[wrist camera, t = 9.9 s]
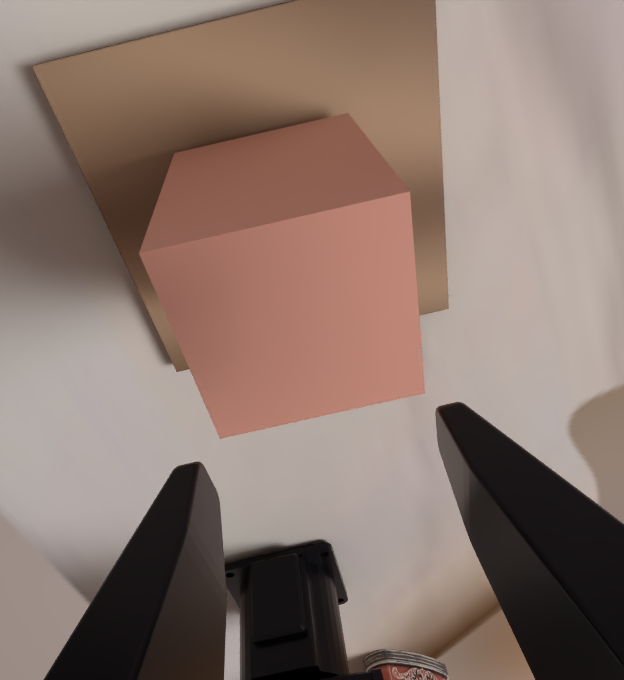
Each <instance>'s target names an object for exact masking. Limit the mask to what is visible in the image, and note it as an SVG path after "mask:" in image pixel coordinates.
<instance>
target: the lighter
mask: <svg viewBox="0 0 624 680" xmlns="http://www.w3.org/2000/svg"><path fill="white" fill-rule="evenodd" d="M364 663H365V669H366V672H369V671H370V669H376V668H380V669H381V672H382V675H383V679H384V680H448V677H449V676H448V673H447V669H446V666H445V664H444V663H442V662H440V661H437V660H436V659H433V658H430V657H427V656H424V655H421V654H417V653H412V652H407V651H399V650H390V649H383V650H378V651H375V652H373V653H371V654H369V655H367V656H366V657H365V659H364Z"/></svg>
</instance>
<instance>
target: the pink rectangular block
mask: <svg viewBox="0 0 624 680" xmlns="http://www.w3.org/2000/svg"><path fill="white" fill-rule="evenodd" d="M139 255H140V257H141V259H142V262H143V264H144V266H145V268H146V271H147V273H148V275H149V278H150V280H151V282H152V284H153V287H154V289H155V291H156V294H157V296H158V298H159V300H160V303H161V305H162V307H163V309H164V312H165V314H166V316H167V319H168V321H169V323H170V325H171V328H172V330H173V332H174V335H175V337H176V339H177V341H178V344H179V346H180V348H181V351H182V353H183V355H184V357H185V360H186V362H187V364H188V367H189V369H190V371H191V373H192V376H193V378H194V380H195V383H196V385H197V387H198V389H199V392H200V394H201V396H202V398H203V401H204V403H205V405H206V408H207V410H208V412H209V414H210V417H211V419H212V421H213V424H214V426H215V428H216V430H217V433H218V435H219V437H220V438H225V437H229V436H234V435H238V434H243V433H247V432H252V431H256V430H261V429H265V428H270V427H274V426H279V425H283V424H288V423H292V422H297V421H301V420H306V419H310V418H315V417H319V416H324V415H328V414H333V413H337V412H342V411H346V410H351V409H355V408H360V407H364V406H369V405H373V404H378V403H382V402H387V401H391V400H396V399H400V398H405V397H409V396H414V395H418V394H423V393H425V387H424V373H423V360H422V347H421V333H420V320H419V306H418V293H417V279H416V266H415V252H414V239H413V226H412V212H411V199H410V191H409V190H408V188H407V187H406V186H405V185H404V183H403V182H402V181H401V179H400V178H399V177H398V176H397V174H396V173H395V172H394V171H393V169H392V168H391V167H390V166H389V164H388V163H387V162H386V160H385V159H384V158H383V157H382V155H381V154H380V153H379V152H378V150H377V149H376V148H375V146H374V145H373V144H372V143H371V141H370V140H369V139H368V138H367V136H366V135H365V134H364V133H363V131H362V130H361V129H360V127H359V126H358V125H357V124H356V122H355V121H354V120H353V119H352V117H351V116H350V115H349V113H346V114H341V115H337V116H333V117H328V118H324V119H320V120H315V121H311V122H307V123H302V124H298V125H294V126H289V127H285V128H281V129H276V130H272V131H268V132H263V133H259V134H255V135H250V136H246V137H242V138H238V139H233V140H229V141H225V142H220V143H216V144H212V145H207V146H203V147H199V148H194V149H190V150H186V151H181V152H177V153H174V155H173V158H172V161H171V164H170V167H169V170H168V172H167V175H166V178H165V181H164V184H163V187H162V189H161V192H160V195H159V198H158V201H157V204H156V206H155V209H154V212H153V215H152V218H151V221H150V223H149V226H148V229H147V232H146V235H145V238H144V240H143V243H142V246H141V249H140V252H139Z"/></svg>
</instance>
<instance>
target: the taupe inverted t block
mask: <svg viewBox="0 0 624 680" xmlns="http://www.w3.org/2000/svg"><path fill="white" fill-rule="evenodd" d="M32 67H33V69H34V72H35V74H36V76H37V78H38V80H39V82H40V84H41V86H42V88H43V91H44V93H45V95H46V97H47V99H48V101H49V103H50V105H51V107H52V110H53V112H54V114H55V116H56V118H57V120H58V122H59V124H60V126H61V128H62V131H63V133H64V135H65V137H66V139H67V141H68V143H69V145H70V147H71V150H72V152H73V154H74V156H75V158H76V160H77V162H78V164H79V166H80V169H81V171H82V173H83V175H84V177H85V179H86V181H87V183H88V185H89V188H90V190H91V192H92V194H93V196H94V198H95V200H96V202H97V204H98V207H99V209H100V211H101V213H102V215H103V217H104V219H105V221H106V223H107V226H108V228H109V230H110V232H111V234H112V236H113V238H114V240H115V242H116V245H117V247H118V249H119V251H120V253H121V255H122V257H123V259H124V261H125V264H126V266H127V268H128V270H129V272H130V274H131V276H132V278H133V280H134V283H135V285H136V287H137V289H138V291H139V293H140V295H141V297H142V299H143V302H144V304H145V306H146V308H147V310H148V312H149V314H150V316H151V318H152V321H153V323H154V325H155V327H156V329H157V331H158V333H159V335H160V337H161V340H162V342H163V344H164V346H165V348H166V350H167V352H168V354H169V356H170V359H171V361H172V363H173V365H174V367H175V369H176V371H177V372H179V371H183V370H187V369H189V367H188V364H187V362H186V360H185V357H184V355H183V353H182V351H181V348H180V346H179V344H178V341H177V339H176V337H175V335H174V332H173V330H172V328H171V325H170V323H169V321H168V319H167V316H166V314H165V312H164V309H163V307H162V305H161V303H160V300H159V298H158V296H157V294H156V291H155V289H154V287H153V284H152V282H151V280H150V278H149V275H148V273H147V271H146V268H145V266H144V264H143V262H142V259H141V257H140V255H139V252H140V249H141V246H142V243H143V240H144V238H145V235H146V232H147V229H148V226H149V223H150V221H151V218H152V215H153V212H154V209H155V206H156V204H157V201H158V198H159V195H160V192H161V189H162V187H163V184H164V181H165V178H166V175H167V172H168V170H169V167H170V164H171V161H172V158H173V155H174V153H177V152H181V151H186V150H190V149H194V148H199V147H203V146H207V145H212V144H216V143H220V142H225V141H229V140H233V139H238V138H242V137H246V136H250V135H255V134H259V133H263V132H268V131H272V130H276V129H281V128H285V127H289V126H294V125H298V124H302V123H307V122H311V121H315V120H320V119H324V118H328V117H333V116H337V115H341V114H346V113H349V115H350V116H351V117H352V119H353V120H354V121H355V122H356V124H357V125H358V126H359V127H360V129H361V130H362V131H363V133H364V134H365V135H366V136H367V138H368V139H369V140H370V141H371V143H372V144H373V145H374V146H375V148H376V149H377V150H378V152H379V153H380V154H381V155H382V157H383V158H384V159H385V160H386V162H387V163H388V164H389V166H390V167H391V168H392V169H393V171H394V172H395V173H396V174H397V176H398V177H399V178H400V179H401V181H402V182H403V183H404V185H405V186H406V187H407V188H408V190H409V191H410V199H411V212H412V226H413V239H414V252H415V266H416V279H417V293H418V306H419V315H424V314H428V313H432V312H437V311H441V310H445V309H449V306H448V283H447V260H446V236H445V213H444V190H443V167H442V144H441V121H440V98H439V75H438V51H437V28H436V5H435V0H294V1H290V2H286V3H282V4H278V5H274V6H270V7H266V8H262V9H258V10H254V11H250V12H246V13H242V14H238V15H234V16H230V17H226V18H222V19H218V20H213V21H209V22H205V23H201V24H197V25H193V26H189V27H185V28H181V29H177V30H173V31H169V32H165V33H161V34H157V35H153V36H149V37H145V38H141V39H137V40H133V41H129V42H125V43H121V44H117V45H112V46H108V47H104V48H100V49H96V50H92V51H88V52H84V53H80V54H76V55H72V56H68V57H64V58H60V59H56V60H52V61H48V62H44V63H40V64H37V65H35V66H32Z"/></svg>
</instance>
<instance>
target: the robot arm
mask: <svg viewBox="0 0 624 680" xmlns="http://www.w3.org/2000/svg"><path fill="white" fill-rule="evenodd" d="M436 427H437V440H438V446H439V450H440V454H441V457H442V460H443V463H444V466H445V469H446V472H447V475H448V478H449V481H450V484H451V487H452V490H453V492H454V495H455V498H456V501H457V504H458V507H459V510H460V513H461V516H462V519H463V522H464V525H465V528H466V530H467V533H468V536H469V539H470V541H471V543H472V546H473V548H474V550H475V553H476V555H477V557H478V559H479V561H480V563H481V565H482V568H483V570H484V572H485V574H486V576H487V578H488V580H489V582H490V585H491V587H492V589H493V591H494V593H495V595H496V597H497V599H498V601H499V604H500V606H501V608H502V610H503V612H504V614H505V616H506V618H507V620H508V623H509V625H510V626H511V629H512V631H513V633H514V635H515V637H516V639H517V641H518V644H519V646H520V648H521V650H522V652H523V654H524V656H525V658H526V661H527V663H528V665H529V667H530V669H531V671H532V673H533V675H534V678H535V680H624V524H623V523H622V522H621V521H619V520H618V519H617V518H615V517H614V516H613V515H611V514H610V513H609V512H607V511H606V510H605V509H603V508H602V507H601V506H599V505H598V504H597V503H595V502H594V501H593V500H591V499H590V498H589V497H587V496H586V495H585V494H583V493H582V492H581V491H579V490H578V489H577V488H575V487H574V486H573V485H571V484H570V483H569V482H567V481H566V480H565V479H564V478H562V477H561V476H560V475H558V474H557V473H556V472H554V471H553V470H552V469H550V468H549V467H548V466H546V465H545V464H544V463H542V462H541V461H540V460H538V459H537V458H536V457H534V456H533V455H532V454H530V453H529V452H528V451H526V450H525V449H524V448H522V447H521V446H520V445H518V444H517V443H516V442H514V441H513V440H512V439H510V438H509V437H508V436H506V435H505V434H504V433H502V432H501V431H500V430H498V429H497V428H496V427H494V426H493V425H492V424H490V423H489V422H488V421H486V420H485V419H484V418H482V417H481V416H480V415H478V414H477V413H476V412H474V411H473V410H472V409H470V408H469V407H468V406H466V405H465V404H464V403H461V402H455V403H451V404H446V405H442V406H439V407H438V408H437V409H436ZM226 586H227V587H228V589H229V591H230V592H231V594H232V596H233V597H234V599H235V601H236V602H237V604H238V606H239V608H240V680H384V679H383V675H382V672H381V669H380V668H376V669H370V671H369V672H361V673H353V674H349V668H348V662H347V656H346V649H345V643H344V637H343V630H342V624H341V618H340V612H339V605H340V604H344V603H346V602H347V601H348V597H347V592H346V589H345V586H344V583H343V579H342V576H341V573H340V570H339V567H338V564H337V561H336V557H335V554H334V551H333V548H332V545H331V544H329V543H319V544H315V545H310V546H306V547H301V548H297V549H292V550H288V551H283V552H279V553H274V554H270V555H265V556H261V557H257V558H252V559H248V560H243V561H239V562H234V563H230V564H226V565H224V552H223V539H222V525H221V512H220V502H219V497H218V493H217V491H216V488H215V487H214V485H213V483H212V481H211V479H210V477H209V475H208V473H207V471H206V469H205V467H204V465H203V464H202V463H201V462H193V463H188V464H184V465H180V466H177V467H176V468H175V469H174V470H173V471H172V473H171V474H170V476H169V478H168V479H167V481H166V483H165V484H164V486H163V487H162V489H161V491H160V492H159V494H158V495H157V497H156V499H155V500H154V502H153V504H152V505H151V507H150V508H149V510H148V512H147V513H146V515H145V516H144V518H143V520H142V521H141V523H140V525H139V526H138V528H137V529H136V531H135V533H134V534H133V536H132V538H131V539H130V541H129V542H128V544H127V546H126V547H125V549H124V550H123V552H122V554H121V555H120V557H119V559H118V560H117V562H116V563H115V565H114V567H113V568H112V570H111V571H110V573H109V575H108V576H107V578H106V580H105V581H104V583H103V584H102V586H101V588H100V589H99V591H98V593H97V594H96V596H95V597H94V599H93V601H92V602H91V604H90V605H89V607H88V609H87V610H86V612H85V614H84V615H83V617H82V618H81V620H80V622H79V623H78V625H77V627H76V628H75V630H74V631H73V633H72V635H71V636H70V638H69V639H68V641H67V643H66V644H65V646H64V648H63V649H62V651H61V653H60V654H59V656H58V657H57V659H56V660H55V662H54V664H53V665H52V667H51V669H50V670H49V672H48V673H47V675H46V677H45V678H44V680H224V660H225V633H226Z"/></svg>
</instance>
